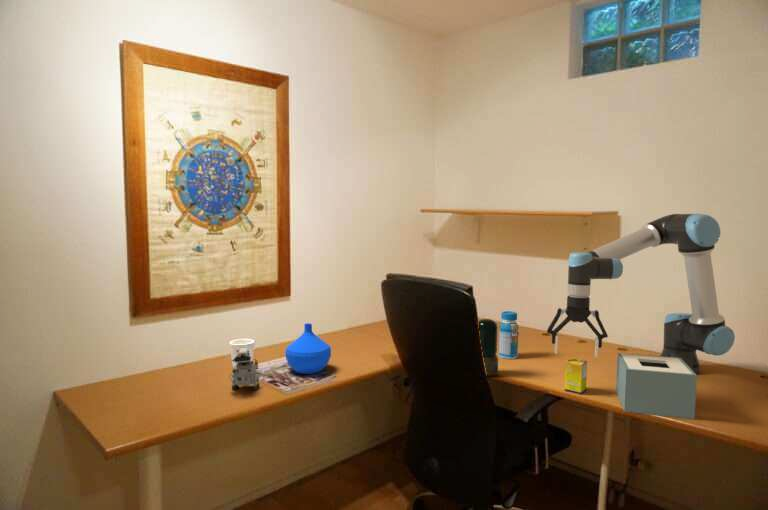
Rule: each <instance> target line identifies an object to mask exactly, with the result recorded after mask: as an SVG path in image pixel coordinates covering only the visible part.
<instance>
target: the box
mask: <svg viewBox="0 0 768 510" xmlns="http://www.w3.org/2000/svg"><path fill="white" fill-rule="evenodd" d="M616 358H617V359H616V360H617V362H616V382H615V383H616V384H615V392H616V394H617V397H618V399H619V401H620V404H621V407H622V409H623V412H624V413H626V412H627V413H635V414H642V415H643V414H644V415H652V416H659V417H660V416H661V417H671V418H679V419H681V418H682V419H691V420H695V419H696V417H695V416H696V399H697V385H698V384H697V383H698V381H697V380H698V374H695V373H694V372H693V371H692V369H691V368H690V367H689V366H688V365H687V364H686V363H685V362H684V361H683V360H682V359H681V358H677V357H664V356H660V355H652V354H651V355H649V354H636V353H625V352H624V353H622V352H617V357H616Z"/></svg>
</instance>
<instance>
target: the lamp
mask: <svg viewBox="0 0 768 510" xmlns="http://www.w3.org/2000/svg"><path fill="white" fill-rule="evenodd" d="M477 322H479V331H480V340H481V347H482V352H483V358H484V363H485V368H486V372H487V375H488V376H487V377H493V376H495V375H497V374H498V372H499V357H498V355H497V353H498V330H499V329H498V324H497V322H496V321H495V320H493V319H491V318H482V319H478V321H477Z"/></svg>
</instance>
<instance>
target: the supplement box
mask: <svg viewBox="0 0 768 510" xmlns="http://www.w3.org/2000/svg"><path fill="white" fill-rule="evenodd" d="M564 365H565V367H564V368H565V369H564V370H565V372H564V374H565V375H564V392H568V393H573V394H577V395H582V394H583V393H585V391H587V376H588V375H587V374H588V370H587V369H588V360H583V359H579V358H573V357H571V358H570V359H567V360H565V364H564Z"/></svg>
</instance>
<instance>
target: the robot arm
mask: <svg viewBox="0 0 768 510" xmlns="http://www.w3.org/2000/svg"><path fill="white" fill-rule="evenodd" d="M719 238H721V227H720V225H719V223H718V221H717V220H716V218H714V217H712V216H711V215H709V214H702V213H672V214H669V215H665V216H662V217H659V218H657V219H654V220H653V221H649V222H647V223H646V224H643V225H642V226H641V229H638V230H635V231H634V232H631V233H629V234H627V235H624V236H622V237H620V238H618V239H615V240H613V241H610V242H608V243H606V244H604V245H602V246H599V247H597V248H595V249H593V250H590V251H588V252H577V251H575V252H571V253H570V254H569V257H568V261H567V266H568V267H567V268H568V269H567V271H568V272H567V273H568V274H567V275H568V276H567V291H566V292H567V294H566V295H567V297H566V308H561V307H558V308H557V311H556V314H555V316H554V317H553V319H552V321H551V323H550V324H549V326H548V328H547V329H546V332H547V334H550V335H551V344H552V345H554V354H558V341H559V340H558V339H559V334H558V333H559V332H560V331H561V330H562V329H563V328H564V327H565V326H566V325H568V323H570V322H572V323H584V322H585V324H587V326H588V327H589V328H590V329H591V331H592V332H593V333H594V334H595V335H596V337H595V345H594V357H595V358H598V357H599V348H600V349H601V348H602V346H603V345H602V344H603V339H607V338H608V333H607V331H606V329H605V327H604V325H603V322H602V320H601V317H600V313H599V310H598V309H595V310H590V306H591V305H590V303H591V302H590V301H591V298H590V295H591V282H592V280H615V279H619V278H620V277H622V275H623V272H624V264H623V263H622V261H621V260H622V259H625V258H627V257H629V256H631V255H634V254H637V253H638V252H640V251H642V250H645V249H648V248H650V247H652V248H657V247H658V246H661V245H669V244H670V245H671V244H673V245H677V250H678V253H679V254H681V255H682V256H683V259H684V260H683V261H684V265H685V266H684V267H685V273H686V280H687V285H688V287H687V288H688V293H689V299H690V306H691V307H690V308H691V313H688V312H687V313H683V312H680V313H679V312H678V313H677V312H676V313H675V312H674V313H668V314H666V315H665V316H664V322H663V347H662V351H661V353H660V355H659V356H664V357H677V358H681V359H682V360H683V361H684V362H685V363H686V364H687V365H688V366H689V367H690V368H691V369H692V371H693V372H694V373H695V374H696V375H698V374H699V373H701V364H700V361H699V358H698V354H697V351H699V352H703V353H705V354H707V355H713V356H723V355H725V354H726V353H728V352H729V351H730V350H731V348H732V347H733V345H734V343H735V337H736V335H735V333H734V330H733V329H731V327H729V326H727V325H726V320H725V317H724V316H723V315H722V314H721V313H719V312H720V311H719V304H718V296H717V291H716V290H717V289H716V284H715V276H714V270H713V269H714V268H713V261H712V254H711V253H712V252H713V251H714V249H715V244H716V245H717V243H718V241H719ZM564 313H565V314H566V317H565V319H564V320H562V322H560V324H558V325H557V326H556V324H557V322H558V321H559V319H560V318H561V316H562V315H563V314H564ZM590 316H592V317H593V318H595V321H596V322H597V324H598V326H599V328H600V331H601V333H600V332H599V331H598V329H597V328H596V327H595V326H594V324H593V323H592V322H591V321H590V319H589V317H590ZM555 326H556V327H555ZM554 327H555V328H554Z"/></svg>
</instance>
